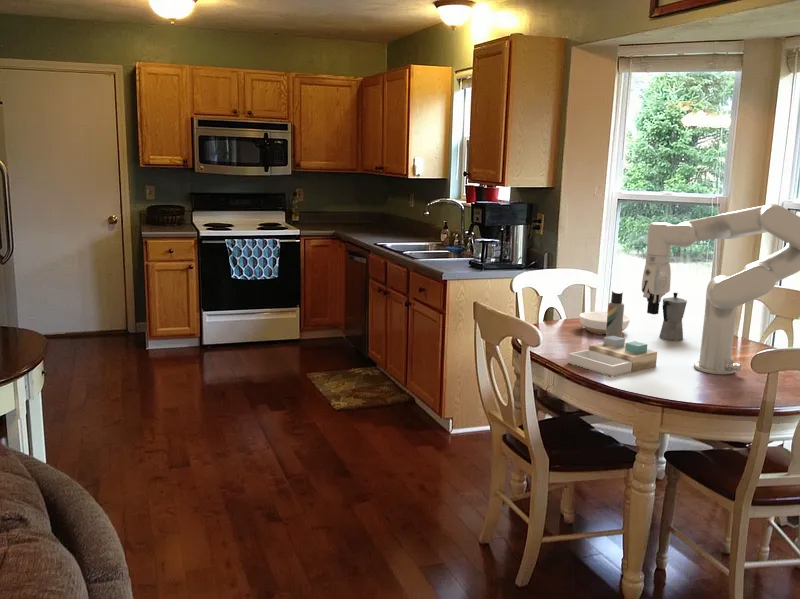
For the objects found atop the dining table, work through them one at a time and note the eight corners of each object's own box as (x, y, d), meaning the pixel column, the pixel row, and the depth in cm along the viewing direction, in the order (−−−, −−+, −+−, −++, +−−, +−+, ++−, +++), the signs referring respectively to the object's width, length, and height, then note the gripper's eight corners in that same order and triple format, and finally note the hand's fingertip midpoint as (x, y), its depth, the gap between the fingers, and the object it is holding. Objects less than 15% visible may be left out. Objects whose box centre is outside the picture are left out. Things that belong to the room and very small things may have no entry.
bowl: (600, 339, 283) (601, 323, 281) (568, 328, 300) (569, 313, 299) (639, 335, 291) (640, 320, 290) (605, 324, 308) (607, 310, 307)
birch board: (655, 366, 247) (657, 351, 246) (632, 371, 240) (633, 357, 239) (612, 353, 261) (613, 340, 260) (588, 359, 254) (589, 345, 253)
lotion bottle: (619, 341, 280) (623, 289, 276) (622, 345, 274) (626, 292, 270) (604, 340, 280) (608, 289, 276) (606, 344, 275) (611, 291, 271)
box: (631, 372, 239) (632, 361, 239) (611, 377, 234) (612, 366, 233) (587, 359, 254) (588, 349, 253) (567, 363, 248) (568, 353, 247)
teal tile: (646, 351, 246) (647, 344, 246) (637, 353, 243) (638, 346, 243) (634, 348, 250) (634, 341, 250) (625, 350, 247) (625, 343, 247)
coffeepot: (667, 333, 296) (672, 289, 292) (690, 337, 289) (695, 292, 285) (648, 338, 285) (653, 293, 282) (672, 343, 278) (676, 297, 275)
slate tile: (624, 345, 253) (625, 338, 253) (615, 347, 250) (615, 340, 250) (612, 342, 257) (613, 335, 257) (603, 344, 254) (603, 337, 254)
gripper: (653, 262, 238) (648, 318, 241) (680, 259, 247) (675, 313, 250) (634, 259, 244) (629, 313, 247) (661, 257, 253) (656, 309, 256)
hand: (652, 313), depth 249 cm, fingers closed
